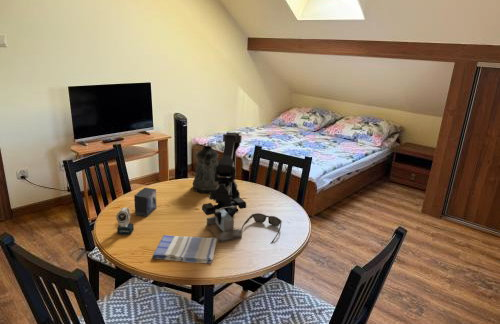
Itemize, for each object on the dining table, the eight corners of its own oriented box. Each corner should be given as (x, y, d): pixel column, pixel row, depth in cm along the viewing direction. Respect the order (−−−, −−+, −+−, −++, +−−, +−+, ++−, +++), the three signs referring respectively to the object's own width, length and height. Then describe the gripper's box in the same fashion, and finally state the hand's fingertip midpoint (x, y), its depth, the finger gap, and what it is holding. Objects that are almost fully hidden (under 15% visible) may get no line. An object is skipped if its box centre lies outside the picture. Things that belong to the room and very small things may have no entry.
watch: (116, 236, 145) (114, 213, 142) (122, 227, 153) (120, 204, 149) (129, 237, 145) (127, 213, 142) (135, 227, 153) (133, 205, 149)
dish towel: (212, 265, 130) (212, 259, 129) (150, 261, 131) (150, 254, 130) (218, 241, 147) (219, 235, 146) (164, 237, 148) (163, 231, 147)
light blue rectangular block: (223, 220, 158) (223, 208, 156) (233, 231, 149) (233, 219, 147) (214, 222, 156) (215, 210, 154) (224, 233, 147) (225, 221, 145)
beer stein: (212, 181, 210) (213, 141, 202) (229, 192, 195) (231, 150, 187) (187, 186, 200) (187, 144, 192) (203, 198, 185) (204, 154, 178)
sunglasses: (284, 227, 161) (284, 218, 158) (273, 248, 146) (274, 239, 144) (251, 219, 166) (251, 211, 164) (237, 240, 151) (237, 230, 149)
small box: (147, 217, 162) (146, 197, 159) (134, 215, 163) (133, 195, 160) (157, 208, 172) (156, 188, 169) (145, 206, 173) (144, 187, 170)
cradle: (226, 221, 162) (227, 214, 161) (241, 237, 149) (242, 229, 148) (206, 225, 158) (206, 217, 156) (220, 242, 145) (220, 234, 143)
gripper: (236, 181, 158) (235, 212, 163) (197, 187, 150) (197, 219, 155) (247, 190, 149) (246, 222, 154) (206, 197, 140) (206, 231, 145)
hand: (223, 223), depth 152 cm, fingers closed on light blue rectangular block, 4 cm apart
